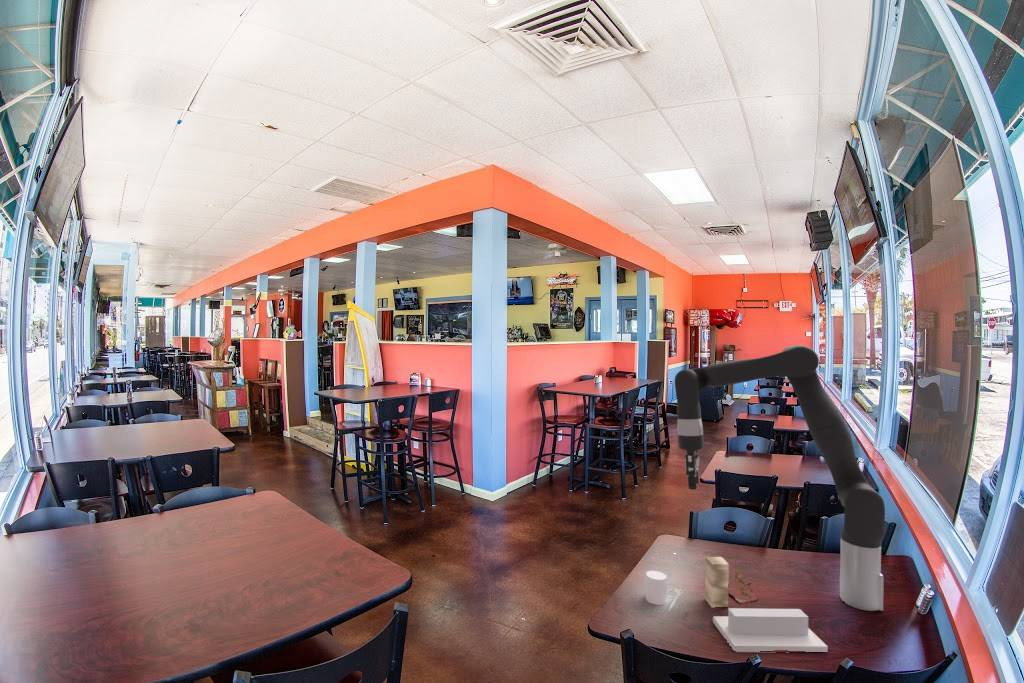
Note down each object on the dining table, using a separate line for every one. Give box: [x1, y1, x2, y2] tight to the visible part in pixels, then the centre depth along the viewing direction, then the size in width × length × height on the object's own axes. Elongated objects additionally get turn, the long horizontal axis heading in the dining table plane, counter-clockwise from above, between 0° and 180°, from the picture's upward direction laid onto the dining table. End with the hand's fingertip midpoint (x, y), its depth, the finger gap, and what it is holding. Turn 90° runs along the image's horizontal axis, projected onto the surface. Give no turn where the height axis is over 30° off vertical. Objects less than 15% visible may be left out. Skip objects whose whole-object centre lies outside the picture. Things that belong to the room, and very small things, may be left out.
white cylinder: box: [643, 569, 670, 606], centre depth 136 cm, size 7×7×7 cm
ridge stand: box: [712, 607, 829, 653], centre depth 120 cm, size 22×12×6 cm, turn 90°
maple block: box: [704, 556, 730, 609], centre depth 135 cm, size 4×4×12 cm
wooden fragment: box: [728, 568, 754, 604], centre depth 147 cm, size 26×11×1 cm, turn 167°
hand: (693, 486), depth 150 cm, fingers open, 8 cm apart
